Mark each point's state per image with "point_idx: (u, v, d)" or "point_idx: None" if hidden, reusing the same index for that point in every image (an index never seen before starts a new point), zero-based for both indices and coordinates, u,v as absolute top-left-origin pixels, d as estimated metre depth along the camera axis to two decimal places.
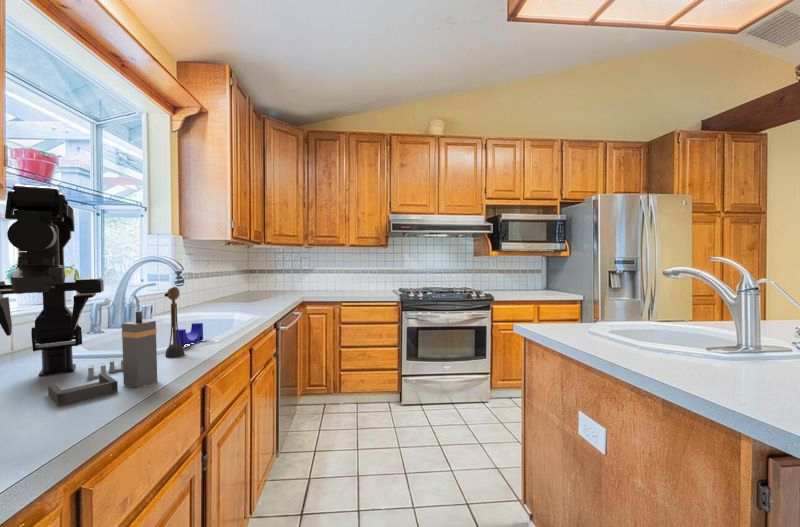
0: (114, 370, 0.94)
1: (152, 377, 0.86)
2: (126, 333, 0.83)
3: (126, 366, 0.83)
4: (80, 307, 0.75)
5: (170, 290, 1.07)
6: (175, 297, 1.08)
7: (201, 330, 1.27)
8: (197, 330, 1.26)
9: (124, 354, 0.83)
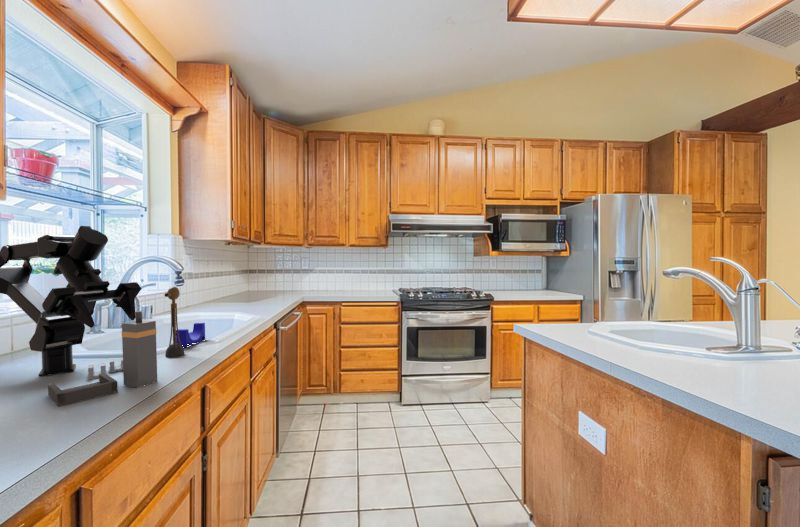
0: (114, 370, 0.94)
1: (152, 377, 0.86)
2: (126, 333, 0.83)
3: (126, 366, 0.83)
4: None
5: (170, 290, 1.07)
6: (175, 297, 1.08)
7: (203, 329, 1.28)
8: (199, 330, 1.26)
9: (124, 354, 0.83)
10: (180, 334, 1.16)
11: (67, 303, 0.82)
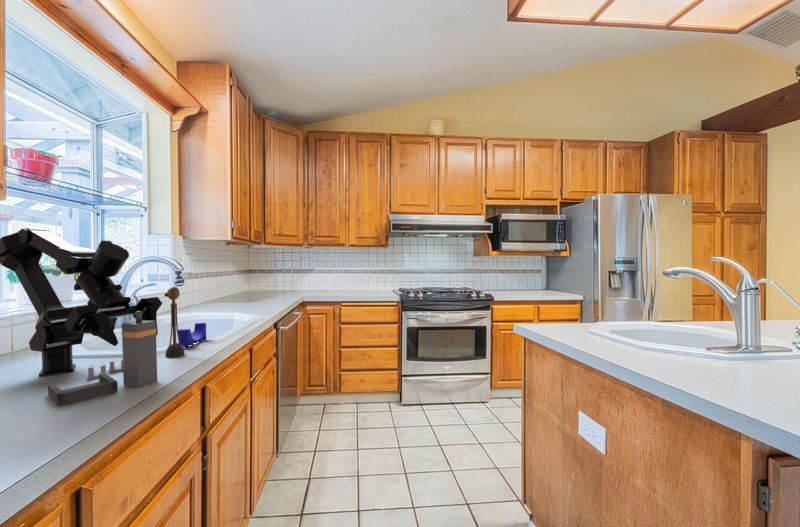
0: (114, 370, 0.94)
1: (152, 377, 0.86)
2: (126, 333, 0.83)
3: (126, 366, 0.83)
4: None
5: (170, 290, 1.07)
6: (175, 297, 1.08)
7: (204, 329, 1.28)
8: (200, 330, 1.26)
9: (124, 354, 0.83)
10: (182, 334, 1.16)
11: (90, 322, 0.80)
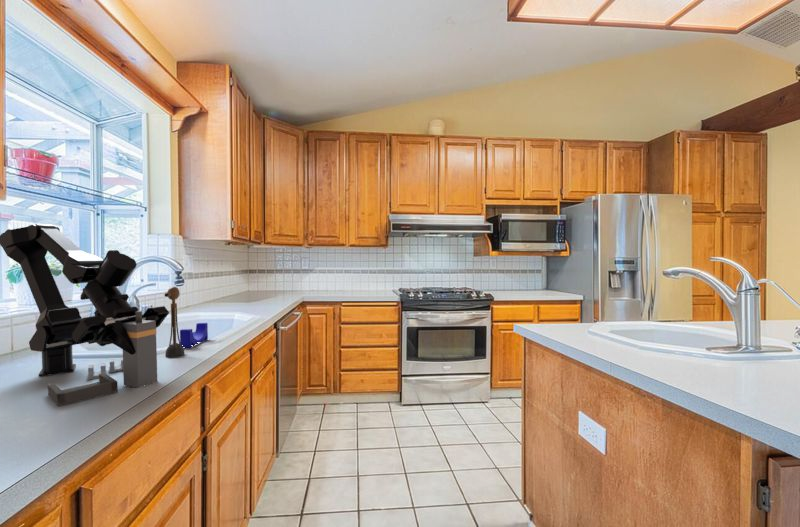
0: (114, 370, 0.94)
1: (152, 377, 0.86)
2: None
3: (126, 366, 0.83)
4: None
5: (170, 290, 1.07)
6: (175, 297, 1.08)
7: (206, 329, 1.28)
8: (202, 330, 1.26)
9: (124, 354, 0.83)
10: (184, 334, 1.16)
11: (108, 331, 0.81)
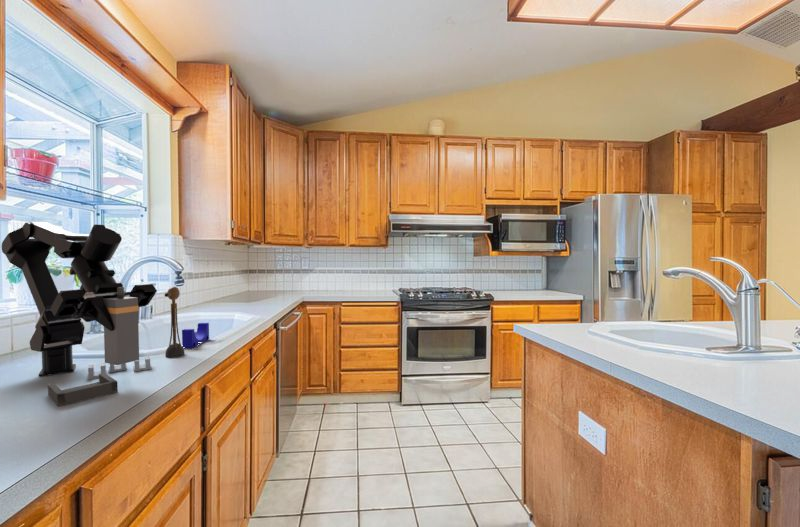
0: (114, 370, 0.94)
1: (133, 355, 0.83)
2: None
3: (107, 343, 0.81)
4: None
5: (170, 290, 1.07)
6: (175, 297, 1.08)
7: (207, 329, 1.28)
8: (203, 330, 1.27)
9: (105, 330, 0.81)
10: (186, 334, 1.17)
11: (88, 305, 0.79)
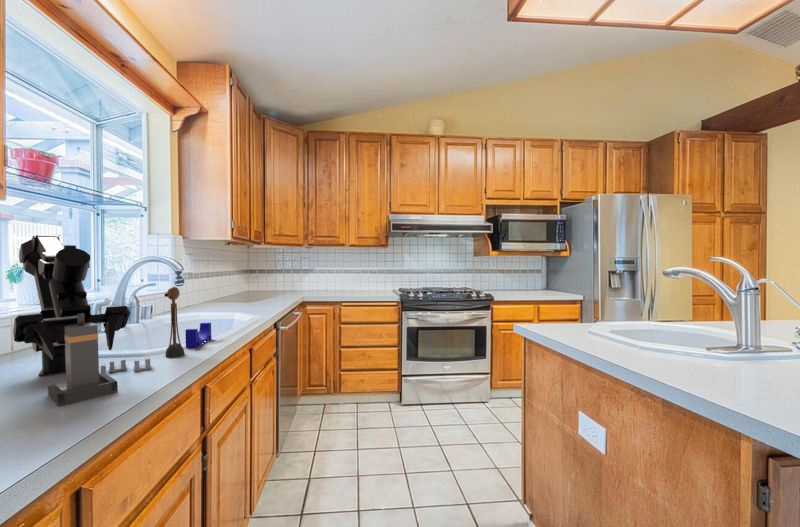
0: (114, 370, 0.94)
1: None
2: (66, 336, 0.78)
3: (67, 372, 0.78)
4: None
5: (170, 290, 1.07)
6: (175, 297, 1.08)
7: (210, 329, 1.28)
8: (206, 330, 1.27)
9: (66, 359, 0.78)
10: (190, 334, 1.17)
11: (32, 332, 0.75)
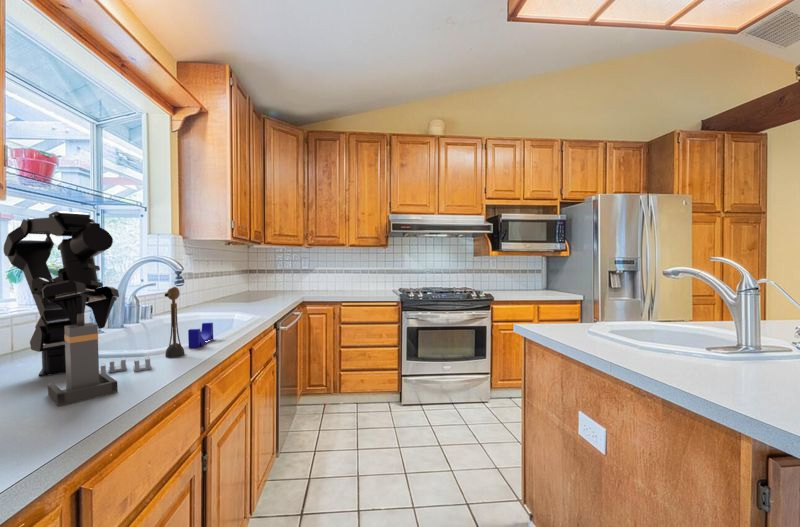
0: (114, 370, 0.94)
1: None
2: (66, 336, 0.78)
3: (67, 372, 0.78)
4: None
5: (170, 290, 1.07)
6: (175, 297, 1.08)
7: (212, 329, 1.28)
8: (208, 330, 1.27)
9: (66, 359, 0.78)
10: (192, 334, 1.17)
11: (70, 298, 0.81)
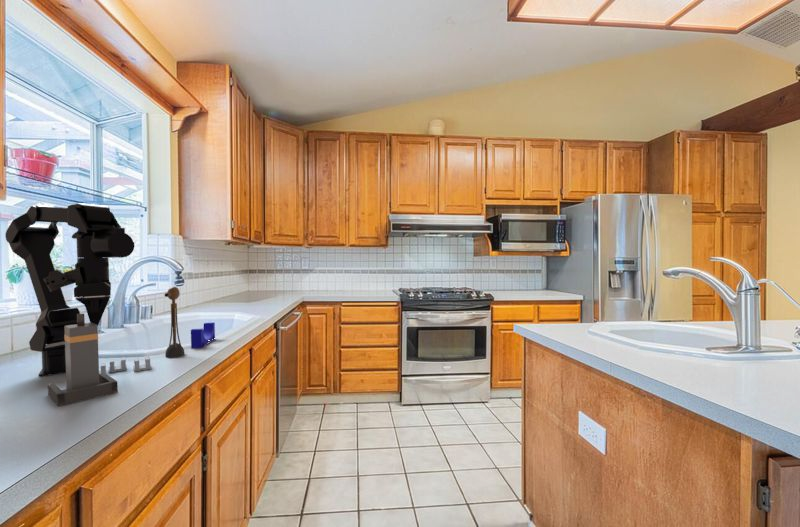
0: (114, 370, 0.94)
1: None
2: (66, 336, 0.78)
3: (67, 372, 0.78)
4: None
5: (170, 290, 1.07)
6: (175, 297, 1.08)
7: (213, 329, 1.28)
8: (210, 329, 1.27)
9: (66, 359, 0.78)
10: (195, 333, 1.17)
11: (98, 299, 0.84)
